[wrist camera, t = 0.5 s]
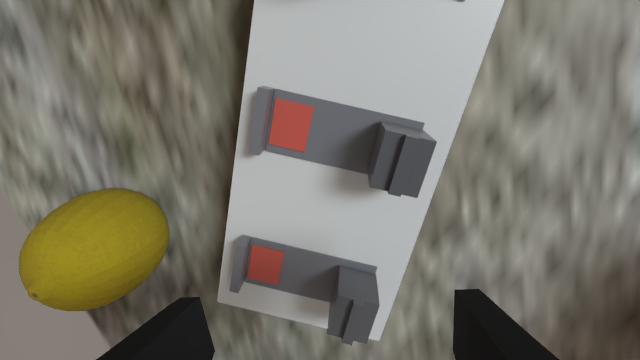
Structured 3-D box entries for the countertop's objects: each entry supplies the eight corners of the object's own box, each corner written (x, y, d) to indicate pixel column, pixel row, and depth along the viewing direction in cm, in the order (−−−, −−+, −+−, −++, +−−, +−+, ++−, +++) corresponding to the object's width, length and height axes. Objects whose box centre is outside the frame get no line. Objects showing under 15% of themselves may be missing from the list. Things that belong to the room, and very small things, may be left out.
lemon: (97, 219, 21) (-45, 303, 13) (129, 153, 19) (-15, 208, 12) (170, 263, 22) (74, 367, 14) (207, 204, 20) (119, 286, 12)
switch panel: (292, -160, 14) (272, -236, 10) (522, -111, 13) (580, -172, 10) (231, 276, 21) (209, 315, 18) (376, 311, 21) (380, 357, 18)
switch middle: (380, 120, 14) (386, 131, 12) (423, 130, 14) (439, 143, 12) (366, 169, 15) (369, 189, 13) (407, 178, 15) (418, 201, 13)
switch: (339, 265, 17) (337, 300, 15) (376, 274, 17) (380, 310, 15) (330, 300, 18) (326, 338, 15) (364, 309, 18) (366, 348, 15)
